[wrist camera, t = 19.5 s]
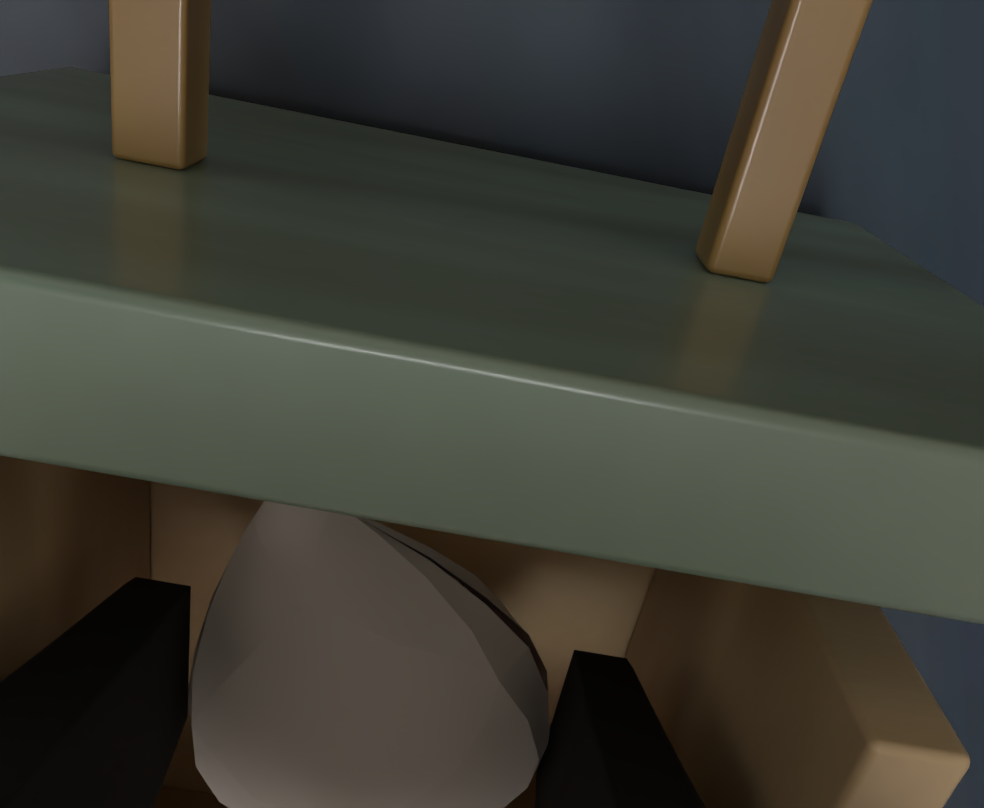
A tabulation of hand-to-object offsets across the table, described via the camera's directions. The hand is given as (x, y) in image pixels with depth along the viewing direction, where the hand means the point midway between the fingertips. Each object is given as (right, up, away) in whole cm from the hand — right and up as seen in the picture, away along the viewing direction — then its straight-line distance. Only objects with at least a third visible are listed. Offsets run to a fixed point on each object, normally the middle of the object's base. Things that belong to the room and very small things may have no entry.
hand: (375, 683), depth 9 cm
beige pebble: (0, +1, +1) cm, 2 cm away
